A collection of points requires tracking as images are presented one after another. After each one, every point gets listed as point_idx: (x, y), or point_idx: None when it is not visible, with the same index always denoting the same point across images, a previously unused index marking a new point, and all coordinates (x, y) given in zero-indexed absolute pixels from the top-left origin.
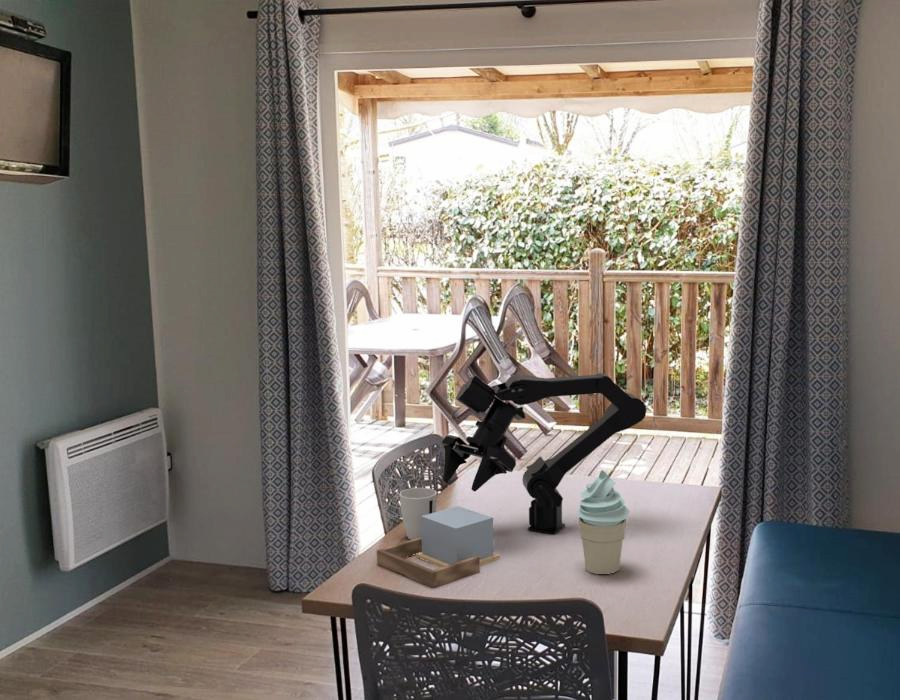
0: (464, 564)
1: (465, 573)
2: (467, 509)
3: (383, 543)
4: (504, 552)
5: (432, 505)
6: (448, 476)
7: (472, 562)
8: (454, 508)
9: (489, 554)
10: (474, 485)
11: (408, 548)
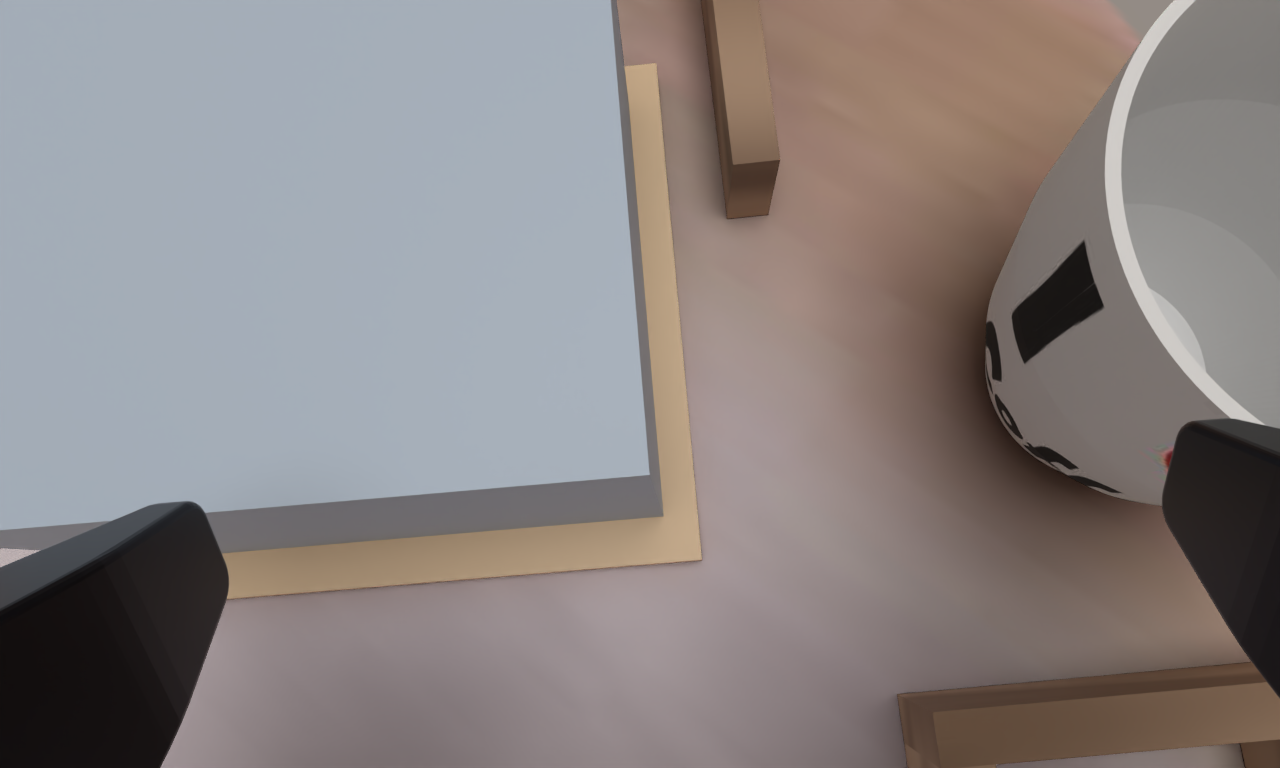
0: None
1: None
2: (411, 484)
3: (1123, 45)
4: (243, 747)
5: (1073, 332)
6: (1263, 561)
7: None
8: (580, 364)
9: None
10: (69, 539)
11: (708, 1)
